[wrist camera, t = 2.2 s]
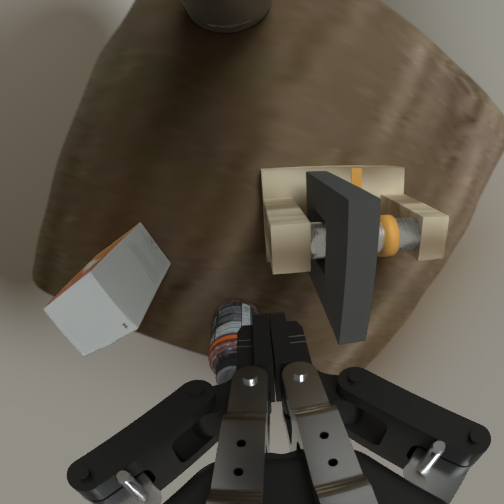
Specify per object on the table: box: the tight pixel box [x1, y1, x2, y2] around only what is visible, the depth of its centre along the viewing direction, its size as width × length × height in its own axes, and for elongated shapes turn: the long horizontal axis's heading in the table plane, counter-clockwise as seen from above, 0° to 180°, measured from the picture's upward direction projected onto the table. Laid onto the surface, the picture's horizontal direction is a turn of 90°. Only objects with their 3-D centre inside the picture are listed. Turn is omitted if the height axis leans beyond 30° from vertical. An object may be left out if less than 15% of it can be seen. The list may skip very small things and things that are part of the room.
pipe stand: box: [261, 166, 449, 274], centre depth 27 cm, size 10×16×11 cm, turn 94°
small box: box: [43, 222, 171, 356], centre depth 28 cm, size 8×6×13 cm
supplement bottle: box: [209, 299, 260, 385], centre depth 32 cm, size 6×6×11 cm
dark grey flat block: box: [306, 171, 381, 345], centre depth 23 cm, size 10×2×12 cm, turn 4°
